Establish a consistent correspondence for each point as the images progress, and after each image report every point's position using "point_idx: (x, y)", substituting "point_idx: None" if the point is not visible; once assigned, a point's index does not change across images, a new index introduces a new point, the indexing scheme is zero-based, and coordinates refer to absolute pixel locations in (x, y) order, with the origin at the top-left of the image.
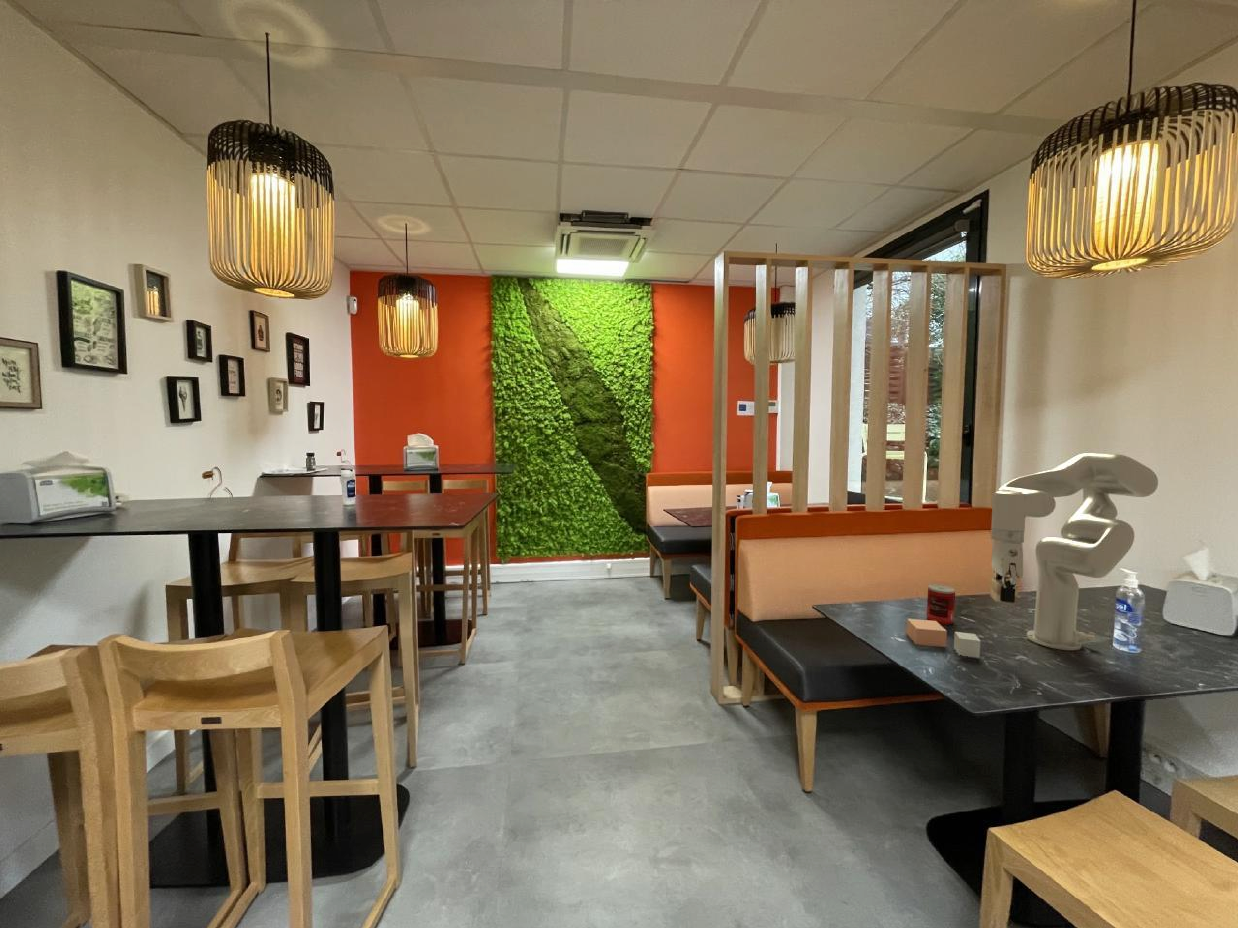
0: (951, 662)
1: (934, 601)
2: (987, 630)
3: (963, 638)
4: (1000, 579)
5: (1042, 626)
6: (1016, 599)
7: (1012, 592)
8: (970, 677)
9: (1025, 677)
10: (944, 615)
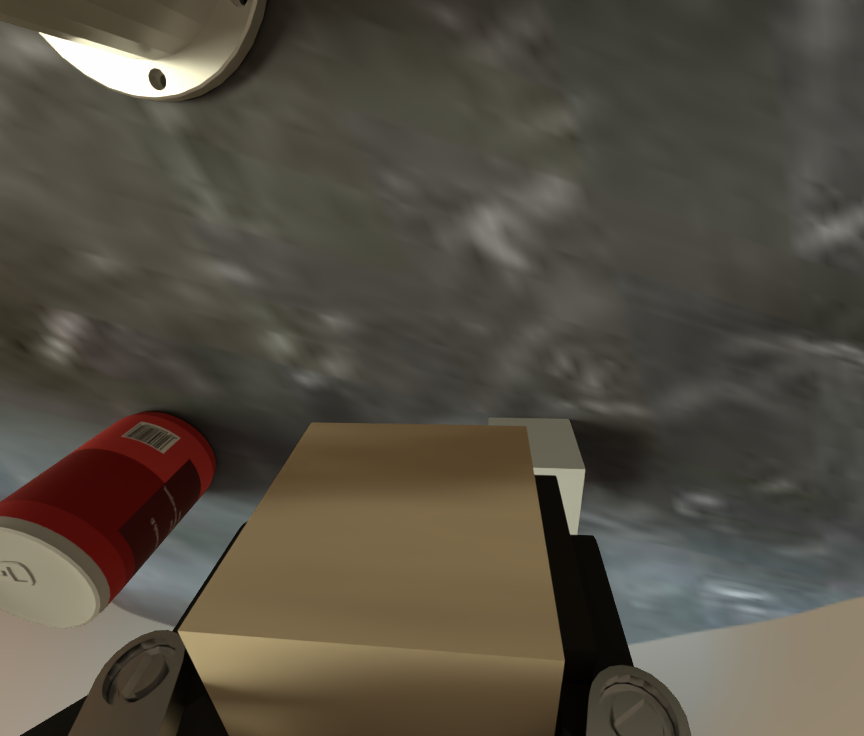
0: (648, 521)
1: (149, 556)
2: (173, 288)
3: (574, 526)
4: (215, 733)
5: (133, 2)
6: (532, 467)
7: (618, 624)
8: (789, 499)
9: (761, 295)
10: (190, 477)
